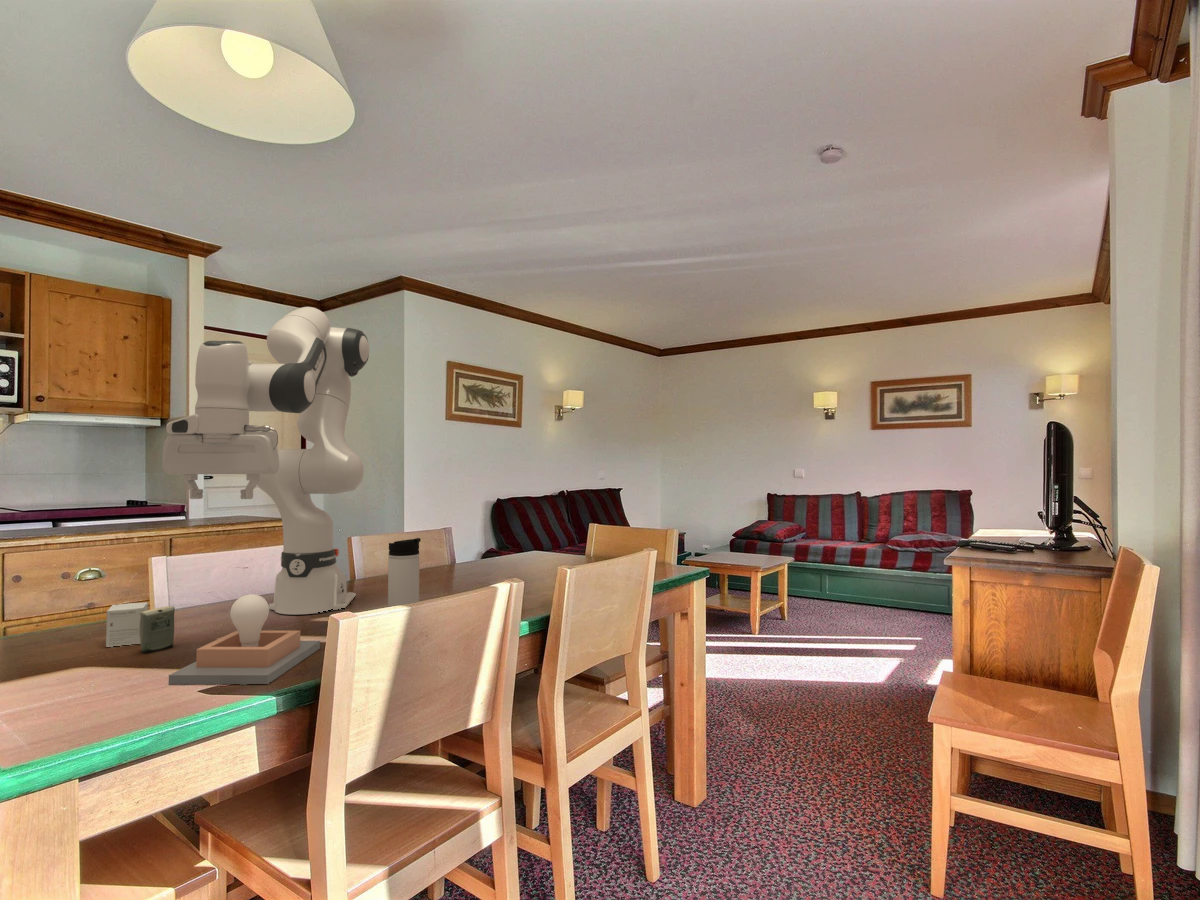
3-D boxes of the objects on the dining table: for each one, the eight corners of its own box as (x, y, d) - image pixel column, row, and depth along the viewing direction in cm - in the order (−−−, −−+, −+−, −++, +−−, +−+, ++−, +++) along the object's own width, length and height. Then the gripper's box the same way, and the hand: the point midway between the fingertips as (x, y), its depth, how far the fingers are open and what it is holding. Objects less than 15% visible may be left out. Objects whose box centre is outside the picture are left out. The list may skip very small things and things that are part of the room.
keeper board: (236, 648, 125) (237, 625, 125) (319, 648, 125) (320, 625, 125) (168, 684, 105) (169, 656, 105) (267, 684, 105) (267, 656, 105)
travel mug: (411, 638, 132) (412, 540, 133) (382, 636, 134) (382, 539, 134) (425, 630, 139) (426, 536, 139) (397, 628, 140) (398, 536, 140)
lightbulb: (246, 663, 111) (246, 599, 111) (222, 659, 113) (222, 596, 114) (276, 653, 116) (276, 592, 117) (253, 650, 119) (253, 590, 119)
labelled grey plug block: (159, 654, 121) (159, 611, 121) (131, 654, 121) (131, 611, 121) (178, 645, 127) (179, 604, 127) (151, 645, 127) (152, 604, 127)
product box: (104, 648, 125) (105, 610, 125) (111, 640, 130) (111, 604, 130) (143, 644, 128) (144, 607, 128) (148, 637, 133) (148, 601, 133)
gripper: (285, 426, 125) (285, 498, 125) (179, 426, 125) (178, 497, 124) (269, 424, 118) (268, 500, 118) (157, 424, 118) (156, 499, 118)
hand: (221, 498), depth 121 cm, fingers open, 8 cm apart
